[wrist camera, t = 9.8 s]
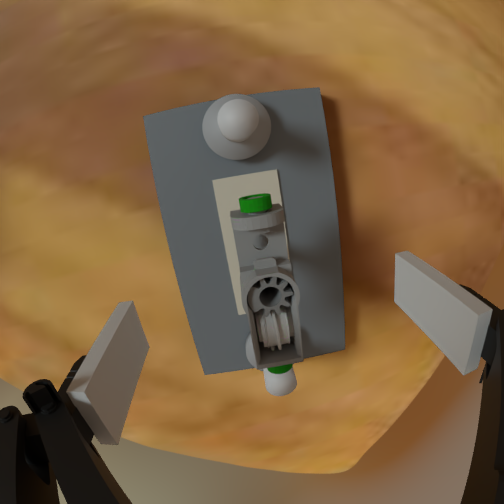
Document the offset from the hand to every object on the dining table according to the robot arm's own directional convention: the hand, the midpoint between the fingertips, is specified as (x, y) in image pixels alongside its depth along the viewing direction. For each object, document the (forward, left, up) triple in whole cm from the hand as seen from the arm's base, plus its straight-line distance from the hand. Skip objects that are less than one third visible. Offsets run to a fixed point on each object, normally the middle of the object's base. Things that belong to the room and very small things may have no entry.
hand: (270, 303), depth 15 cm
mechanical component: (0, 0, -11) cm, 11 cm away
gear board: (0, 0, -13) cm, 13 cm away
